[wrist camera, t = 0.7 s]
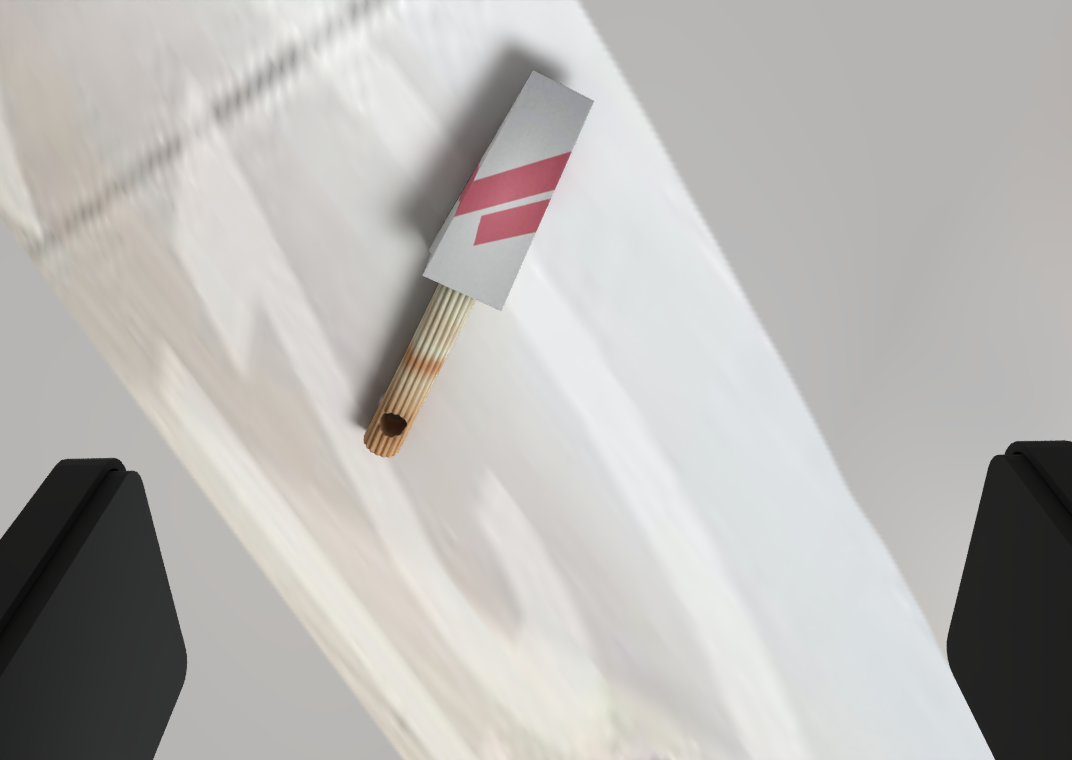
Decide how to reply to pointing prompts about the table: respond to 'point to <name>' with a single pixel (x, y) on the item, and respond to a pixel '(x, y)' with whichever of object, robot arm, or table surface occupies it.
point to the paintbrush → (484, 241)
